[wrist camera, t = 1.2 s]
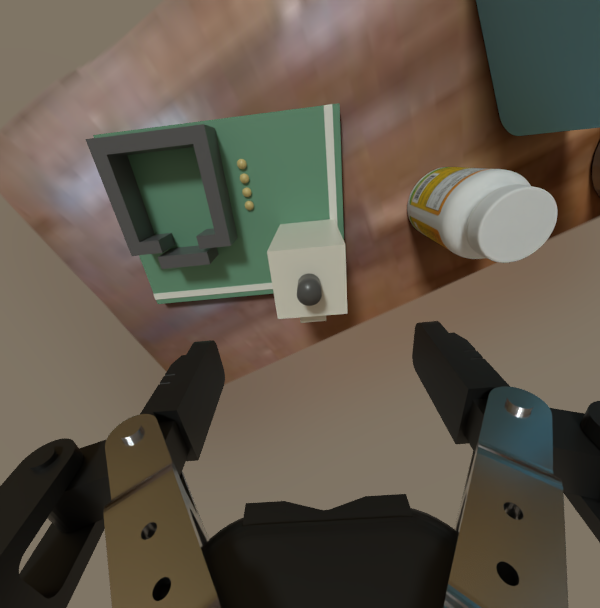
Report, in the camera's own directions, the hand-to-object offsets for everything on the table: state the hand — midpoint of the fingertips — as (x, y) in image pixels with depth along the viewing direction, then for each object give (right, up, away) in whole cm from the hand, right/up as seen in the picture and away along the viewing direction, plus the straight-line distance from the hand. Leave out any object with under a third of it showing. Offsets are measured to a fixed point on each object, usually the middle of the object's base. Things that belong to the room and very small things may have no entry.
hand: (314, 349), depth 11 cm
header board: (-6, +9, +13) cm, 17 cm away
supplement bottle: (+11, +10, +12) cm, 19 cm away
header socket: (-9, +10, +11) cm, 18 cm away
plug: (0, +7, +13) cm, 14 cm away
